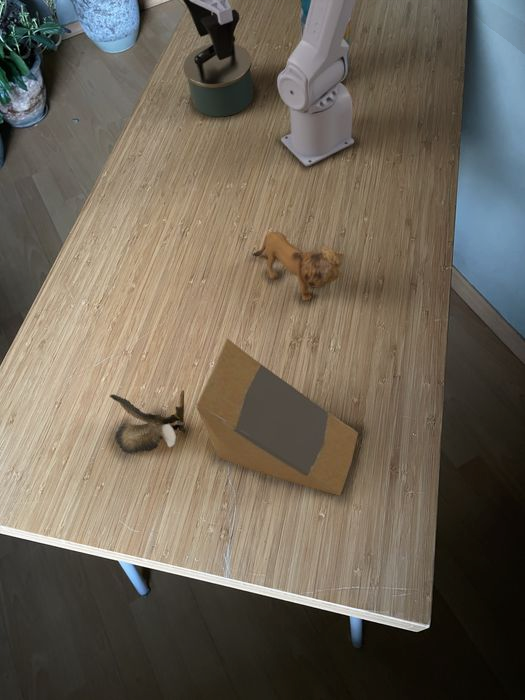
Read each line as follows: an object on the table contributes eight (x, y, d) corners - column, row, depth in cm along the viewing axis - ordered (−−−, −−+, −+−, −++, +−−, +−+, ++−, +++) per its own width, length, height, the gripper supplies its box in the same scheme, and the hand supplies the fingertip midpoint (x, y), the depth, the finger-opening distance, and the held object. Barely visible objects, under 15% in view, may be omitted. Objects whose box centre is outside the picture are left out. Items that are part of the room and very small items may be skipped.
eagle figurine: (184, 387, 75) (111, 389, 74) (184, 392, 68) (104, 395, 67) (185, 446, 75) (113, 450, 74) (186, 458, 68) (106, 462, 67)
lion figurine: (348, 287, 82) (351, 245, 74) (328, 314, 80) (329, 273, 72) (262, 245, 87) (257, 201, 80) (241, 269, 85) (233, 227, 78)
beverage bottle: (308, 93, 104) (306, -26, 87) (296, 65, 108) (291, -54, 91) (354, 82, 104) (361, -39, 87) (340, 55, 109) (344, -65, 92)
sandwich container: (341, 498, 67) (345, 451, 54) (217, 459, 71) (194, 406, 58) (360, 431, 71) (368, 372, 58) (242, 398, 75) (225, 335, 62)
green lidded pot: (268, 92, 105) (263, 40, 97) (221, 127, 101) (212, 75, 93) (223, 68, 110) (215, 16, 101) (177, 100, 106) (165, 49, 98)
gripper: (246, -32, 82) (256, 59, 94) (205, -73, 89) (218, 16, 101) (200, -15, 81) (216, 74, 93) (162, -58, 88) (181, 30, 100)
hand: (214, 45), depth 97 cm, fingers open, 7 cm apart
